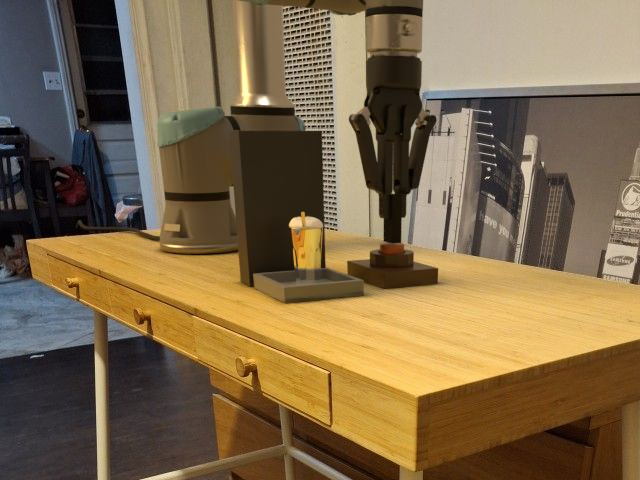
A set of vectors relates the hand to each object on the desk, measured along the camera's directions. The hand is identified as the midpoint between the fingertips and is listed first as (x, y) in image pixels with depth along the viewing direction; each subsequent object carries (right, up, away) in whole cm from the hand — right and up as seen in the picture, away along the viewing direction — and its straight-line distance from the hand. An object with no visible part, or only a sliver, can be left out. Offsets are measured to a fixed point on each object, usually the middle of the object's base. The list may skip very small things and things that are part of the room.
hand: (392, 241), depth 111 cm
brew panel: (0, -5, +2) cm, 5 cm away
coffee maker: (-13, -8, -4) cm, 16 cm away
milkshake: (-12, -9, -6) cm, 16 cm away
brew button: (0, -2, +1) cm, 2 cm away
